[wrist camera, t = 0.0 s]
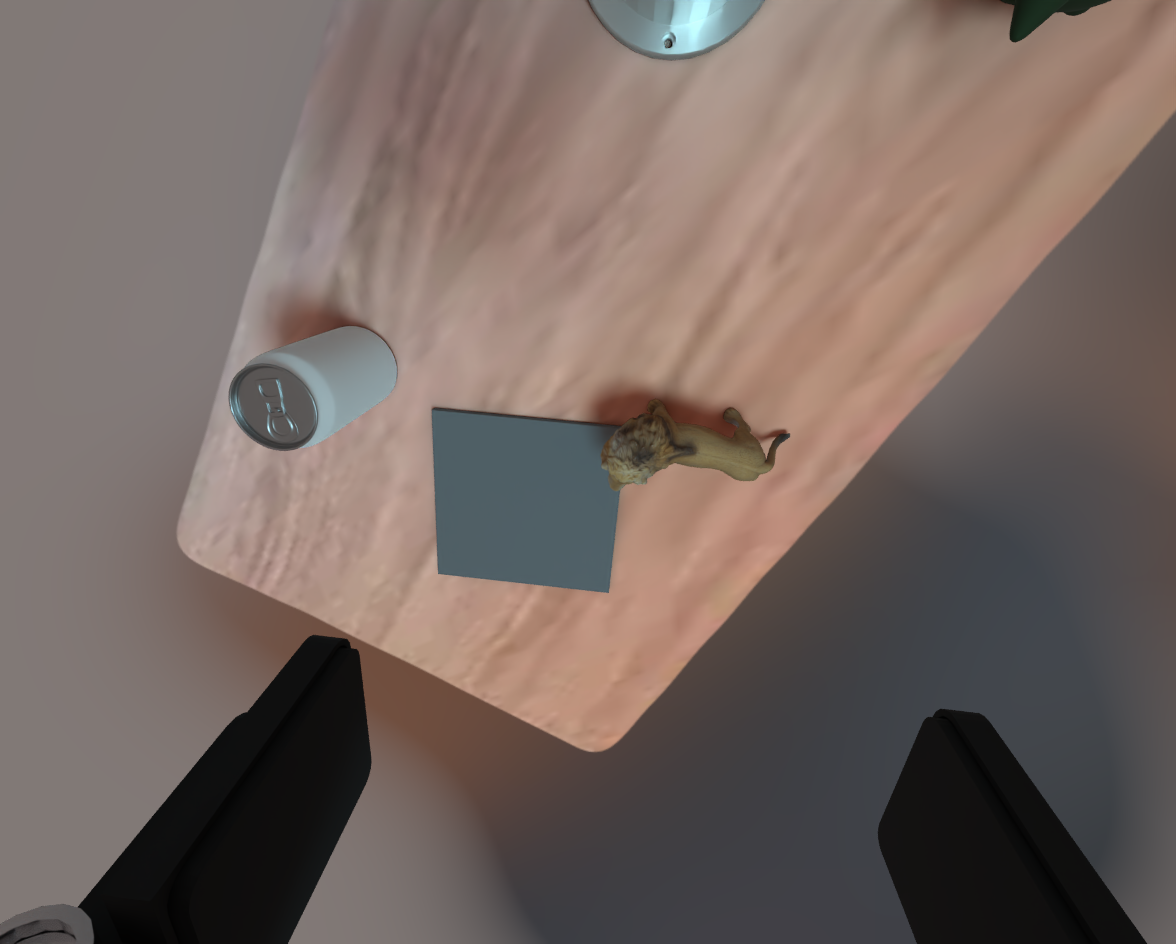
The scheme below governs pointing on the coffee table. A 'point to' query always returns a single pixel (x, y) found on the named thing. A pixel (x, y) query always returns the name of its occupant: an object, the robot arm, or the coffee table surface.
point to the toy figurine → (1042, 13)
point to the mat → (523, 499)
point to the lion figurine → (682, 448)
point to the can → (312, 387)
